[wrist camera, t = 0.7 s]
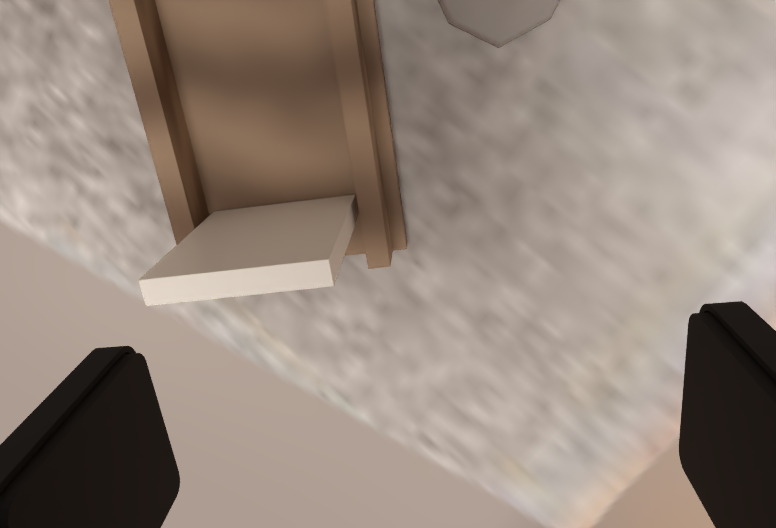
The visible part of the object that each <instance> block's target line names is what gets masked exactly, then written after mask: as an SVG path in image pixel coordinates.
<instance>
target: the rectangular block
mask: <svg viewBox="0 0 776 528" xmlns="http://www.w3.org/2000/svg"><path fill="white" fill-rule="evenodd" d="M358 215H359V214H358V208H357V202H356V196H355V194H354V195H346V196H338V197H330V198H321V199H313V200H305V201H296V202H288V203H280V204H272V205H263V206H255V207H247V208H239V209H230V210H222V211H214V212H213V213H212V214H211V215H210V216H208V217H207V218H206V219H205V220H204V221H203V222H202V223H201V224H200V225H199V226H197V227H196V228H195V229H194V230H193V231H192V232H191V233H190V234H189V235H188V236H186V237H185V238H184V239H183V240H182V241H181V242H180V243H179V244H178V245H177V246H175V247H174V248H173V249H172V250H171V251H170V252H169V253H168V254H167V255H166V256H164V257H163V258H162V259H161V260H160V261H159V262H158V263H157V264H156V265H155V266H154V267H152V268H151V269H150V270H149V271H148V272H147V273H146V274H145V275H144V276H143V277H141V278H140V279H139V280H138V281H139V284H140V288H141V291H142V294H143V297H144V301H145V304H146V306H151V305H160V304H170V303H179V302H189V301H198V300H208V299H217V298H226V297H236V296H245V295H255V294H264V293H274V292H283V291H293V290H302V289H312V288H321V287H331V286H334V284H335V281H336V278H337V275H338V272H339V269H340V267H341V264H342V261H343V258H344V255H345V252H346V249H347V247H348V244H349V241H350V238H351V235H352V232H353V230H354V227H355V224H356V221H357V218H358Z"/></svg>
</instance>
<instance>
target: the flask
mask: <svg viewBox="0 0 776 528" xmlns="http://www.w3.org/2000/svg"><path fill="white" fill-rule="evenodd" d="M438 1H439V3H440V5H441V7H442V9H443V12H444V14H445V16H446V18H447V20H448V22H449V23H450V24H452V25H454V26H456V27H458V28H460V29H462V30H464V31H466V32H468V33H470V34H472V35H474V36H476V37H478V38H480V39H482V40H484V41H486V42H488V43H490V44H492V45H494V46H496V47H498V48H499V47H501V46H503V45H504V44H506V43H508V42H510V41H512V40H513V39H515V38H517V37H519V36H521V35H522V34H524V33H526V32H528V31H530V30H531V29H533V28H535V27H537V26H539V25H540V24H542V23H544V22H546V21H548V20H549V19H551V17H552V15H553V13H554V11H555V9H556V7H557V5H558V3H559V1H560V0H438Z"/></svg>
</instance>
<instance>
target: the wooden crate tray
mask: <svg viewBox="0 0 776 528" xmlns="http://www.w3.org/2000/svg"><path fill="white" fill-rule="evenodd" d="M109 3H110V7H111V10H112V14H113V17H114V21H115V24H116V28H117V32H118V35H119V39H120V42H121V46H122V50H123V53H124V57H125V60H126V64H127V68H128V71H129V75H130V78H131V82H132V86H133V89H134V93H135V96H136V100H137V104H138V107H139V111H140V114H141V118H142V122H143V125H144V129H145V132H146V136H147V140H148V143H149V147H150V150H151V154H152V158H153V161H154V165H155V168H156V172H157V175H158V179H159V183H160V186H161V190H162V193H163V197H164V201H165V204H166V208H167V211H168V215H169V219H170V222H171V226H172V229H173V233H174V237H175V240H176V244H177V245H178V244H179V243H180V242H181V241H182V240H183V239H184V238H185V237H186V236H188V235H189V234H190V233H191V232H192V231H193V230H194V229H195V228H196V227H197V226H199V225H200V224H201V223H202V222H203V221H204V220H205V219H206V218H207V217H208V216H210V215H211V214H212V213H213V212H214V211H222V210H230V209H239V208H247V207H255V206H263V205H272V204H280V203H288V202H296V201H305V200H313V199H321V198H330V197H338V196H346V195H354V194H355V196H356V202H357V208H358V214H359V215H358V218H357V221H356V224H355V227H354V230H353V232H352V235H351V238H350V241H349V244H348V247H347V249H346V252H345V255H354V254H363V253H366V257H367V263H368V269H370V268H380V267H389V266H390V265H391V258H392V252H393V250H399V249H406V248H407V239H406V232H405V225H404V217H403V210H402V203H401V195H400V188H399V181H398V173H397V166H396V159H395V151H394V144H393V137H392V129H391V122H390V115H389V107H388V100H387V93H386V85H385V78H384V71H383V63H382V56H381V49H380V41H379V34H378V27H377V19H376V12H375V5H374V0H109ZM345 255H344V256H345Z"/></svg>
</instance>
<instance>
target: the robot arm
mask: <svg viewBox="0 0 776 528" xmlns="http://www.w3.org/2000/svg"><path fill="white" fill-rule="evenodd" d="M679 456H680V460H681V464H682V467H683V470H684V472H685V474H686V475H687V477H688V479H689V481H690V483H691V484H692V486H693V488H694V490H695V491H696V493H697V495H698V497H699V499H700V501H701V502H702V504H703V506H704V508H705V509H706V511H707V513H708V515H709V517H710V518H711V520H712V522H713V524H714V526H715V527H716V528H776V331H775V330H774V329H773V328H772V327H771V326H770V325H769V324H767V323H766V322H765V321H764V320H763V319H762V318H761V317H760V316H759V315H758V314H757V313H756V312H754V311H753V310H752V309H751V308H750V307H749V306H748V305H747V304H746V303H744V302H742V301H741V302H726V303H713V304H704V305H703V306H702V307H701V309H700V312H699V313H695V314H692V315H691V316H690V318H689V323H688V335H687V348H686V361H685V374H684V387H683V400H682V413H681V426H680V439H679ZM179 486H180V477H179V471H178V468H177V464H176V461H175V458H174V454H173V451H172V448H171V444H170V441H169V437H168V434H167V430H166V427H165V424H164V420H163V417H162V413H161V410H160V407H159V403H158V400H157V396H156V393H155V390H154V386H153V383H152V380H151V377H150V373H149V369H148V366H147V363H146V360H145V358H144V356H143V355H142V354H140V353H136V352H135V351H134V349H133V348H132V347H130V346H120V347H107V348H96V349H94V350H93V351H92V352H91V353H90V354H89V355H88V356H87V357H86V358H85V359H84V360H83V361H82V362H81V363H80V364H79V365H78V366H77V367H76V368H75V369H74V370H73V371H72V372H71V373H70V374H69V375H68V376H67V377H66V378H65V380H63V381H62V382H61V383H60V384H59V385H58V386H57V388H56V389H55V390H54V391H53V392H52V393H51V394H50V395H49V396H48V397H47V398H46V399H45V400H44V401H43V402H42V403H41V404H40V405H39V406H38V407H37V408H36V409H35V410H34V411H33V412H32V413H31V414H30V415H29V416H28V417H27V418H26V419H25V420H24V421H23V422H22V423H21V424H20V425H19V427H17V429H15V430H14V432H13V433H12V434H11V435H10V436H9V437H8V438H7V439H6V440H5V441H4V442H3V443H2V444H1V445H0V528H161V526H162V524H163V522H164V520H165V518H166V516H167V514H168V512H169V510H170V508H171V506H172V505H173V502H174V500H175V498H176V497H177V494H178V491H179Z"/></svg>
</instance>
